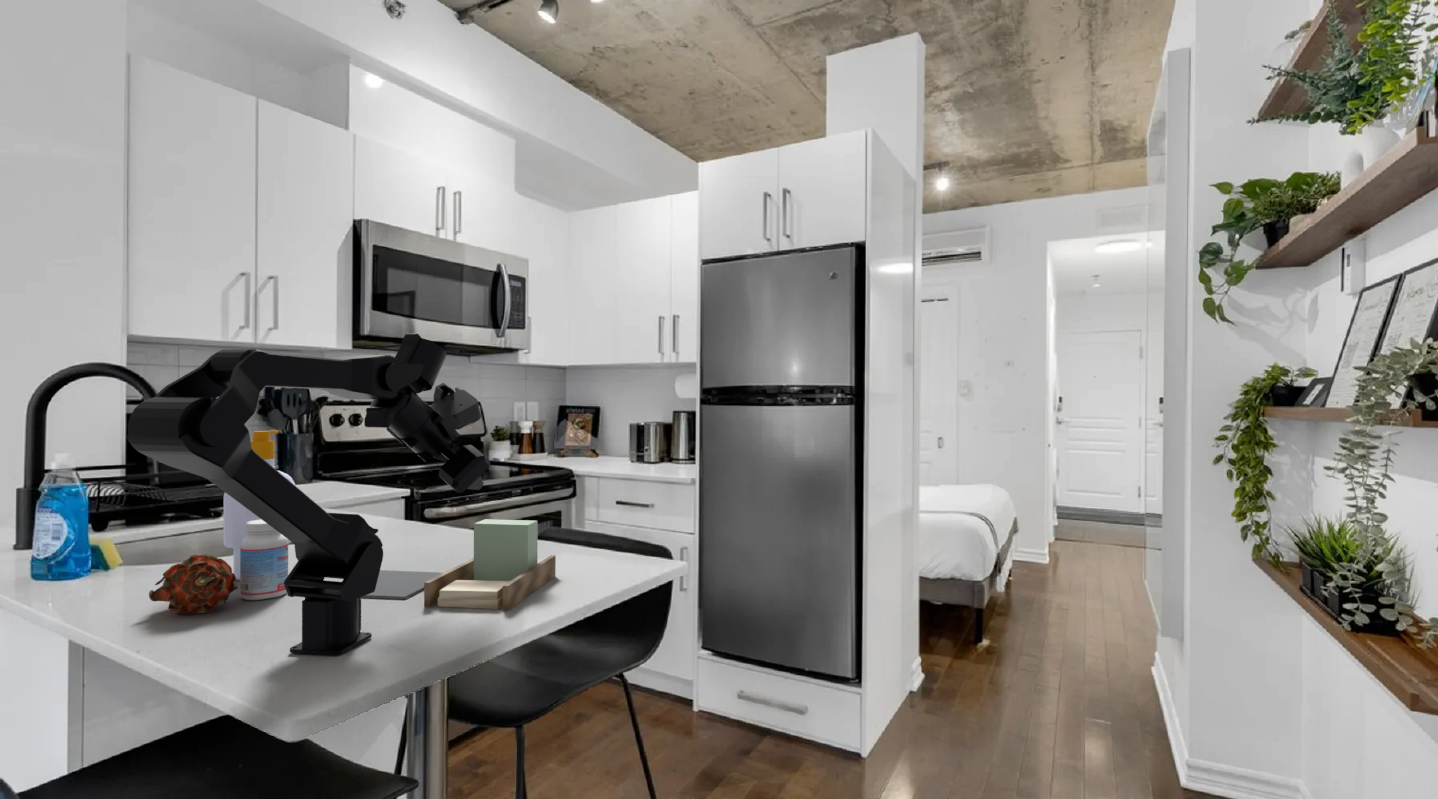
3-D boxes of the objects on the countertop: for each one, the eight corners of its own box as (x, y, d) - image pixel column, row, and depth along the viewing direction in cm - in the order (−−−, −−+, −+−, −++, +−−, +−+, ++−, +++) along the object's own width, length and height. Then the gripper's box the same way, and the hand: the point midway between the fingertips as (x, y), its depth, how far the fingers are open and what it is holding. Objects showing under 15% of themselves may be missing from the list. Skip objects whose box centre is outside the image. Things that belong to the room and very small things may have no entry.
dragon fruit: (219, 630, 94) (168, 630, 99) (267, 581, 101) (217, 583, 106) (173, 588, 90) (122, 591, 95) (226, 539, 97) (176, 544, 102)
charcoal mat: (405, 599, 104) (405, 596, 104) (318, 595, 105) (318, 592, 105) (452, 575, 118) (452, 572, 118) (374, 572, 119) (374, 569, 119)
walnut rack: (508, 610, 99) (508, 585, 99) (424, 606, 100) (424, 582, 100) (555, 576, 117) (555, 555, 117) (484, 573, 119) (484, 552, 119)
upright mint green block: (527, 588, 110) (528, 525, 110) (473, 586, 111) (473, 523, 111) (537, 581, 114) (537, 520, 114) (484, 579, 115) (485, 519, 115)
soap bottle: (311, 570, 120) (312, 430, 120) (259, 586, 110) (259, 433, 110) (262, 566, 122) (262, 429, 122) (207, 582, 112) (207, 432, 112)
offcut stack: (496, 609, 99) (496, 592, 99) (436, 606, 100) (436, 590, 100) (514, 596, 105) (514, 581, 105) (458, 594, 106) (458, 578, 106)
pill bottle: (289, 597, 104) (289, 522, 104) (240, 603, 101) (240, 526, 101) (287, 587, 109) (287, 516, 109) (240, 593, 106) (240, 520, 106)
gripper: (492, 407, 96) (537, 463, 109) (418, 353, 105) (468, 410, 118) (430, 466, 92) (484, 517, 105) (359, 404, 102) (416, 458, 114)
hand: (463, 472), depth 111 cm, fingers open, 9 cm apart
